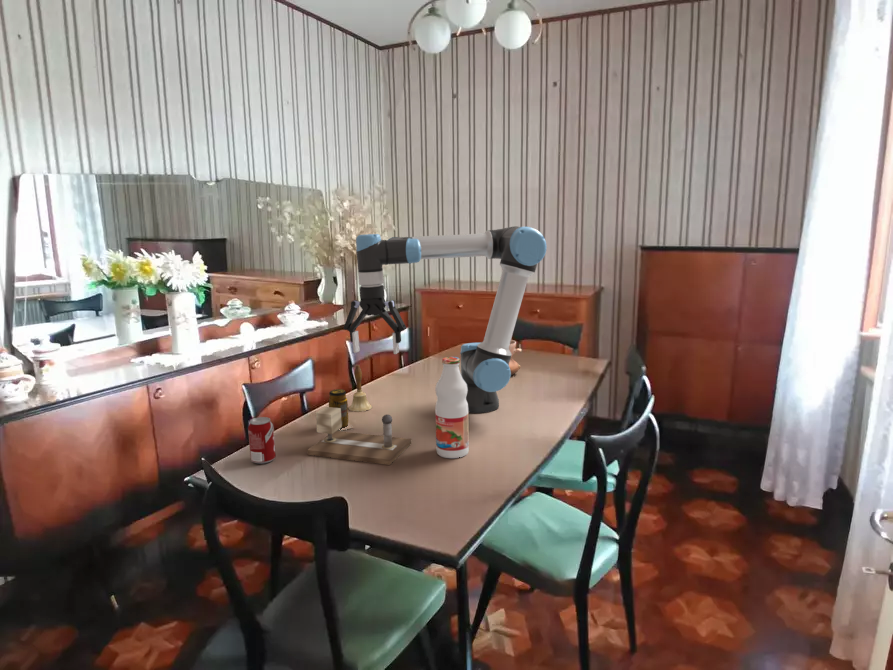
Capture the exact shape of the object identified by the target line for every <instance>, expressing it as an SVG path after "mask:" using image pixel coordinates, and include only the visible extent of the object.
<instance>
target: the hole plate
mask: <svg viewBox="0 0 893 670" xmlns="http://www.w3.org/2000/svg"><path fill="white" fill-rule="evenodd" d="M392 422H393V417H392V416H391V415H390V414H384V415H383V416H382V418H381V423H382V431H383V432H382V433H383V435H379V434H371V433H370V434H367V433H361V432H353V431H352V432H351V431H336V432H334V433H333V434H332V439H328V434H326V436H325V437H323V438H321V439H320V440H319V441H318V442H316V443H314V444H313V445H312V446H310V447H309V448H308V449H307V451H306V453H307V455H308V456H314V455H315V456H316V457H323V458H330V457H331V459H340V460H347V461H354V460H355V462H362V461H363V463H370V462H371V463H370V464H378V465H386V466H387V465H388V466H390V465H392V462H393V463H394V462H395V460H397V459H396V458H397V457H398V456H399V455H400V454H401V453H402V452H403V451H404V450H405V449H406V448H407V447H408V446H409V445H410V444H411V445H412V438H407V437H406V438H404V437H397V436H393V430H392V428H393V427H392ZM411 445H410V446H411ZM410 446H409V447H410ZM409 447H408V448H409ZM408 448H407V449H408ZM407 449H406V450H407ZM406 450H405V451H406ZM405 451H404V452H405ZM404 452H403V453H404ZM403 453H402V454H403ZM402 454H401V455H402ZM401 455H400V456H401ZM315 456H314V457H315ZM400 456H399V457H400ZM399 457H398V458H399Z"/></svg>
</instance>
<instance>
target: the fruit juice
mask: <svg viewBox="0 0 893 670" xmlns="http://www.w3.org/2000/svg"><path fill="white" fill-rule="evenodd" d="M441 360H442V361H441V363H442V366H443V367H442V372H441V375H440V378H439V379H438V380H437V383H436V385H435V390H434V391H435V395H436V399H437V400H436V403H435V410H434V411H435V412H434V413H435V447H436V453H437V455H439V456H440V457H441V458H445V459H459V457H460V458H462V457H465V456H467V455H468V454H469V450H470V448H469V447H470V444H469V443H470V441H469V439H470V438H469V436H470V435H469V427H470V425H469V412H468V403H467V401H466V396H467V391H468V388H467V384H466V382H465V381H464V380H463V378H462V376H461V369H460V367H459V366H460V365H461V358H459V357H457V356H446V357H443V358H442V359H441Z"/></svg>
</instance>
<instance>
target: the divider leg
mask: <svg viewBox="0 0 893 670" xmlns="http://www.w3.org/2000/svg"><path fill="white" fill-rule="evenodd" d="M315 421H316V425H315V426H316V433H318V434H319V433H320V434H326V435H328V439H332V434H333V433H334V432H336V431H337V430H339V429H340V428H341V427H342V421H341V408H333V407H329V406H325V407H324V408H322V409H320V410H319V411H317V412H316V413H315Z"/></svg>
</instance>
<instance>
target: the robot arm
mask: <svg viewBox="0 0 893 670" xmlns="http://www.w3.org/2000/svg"><path fill="white" fill-rule="evenodd" d="M355 248H356V250H355V251H356V261H357V262H356V263H357V273H358V274H357V275H358V285H359V299H360V301H358V300H357V299H355V300H352V301H350V309H349V311H348V312H349V313H348V315H347V317H346V320H345V322H344V326H343V330H344V331H347V332H349V337H350V338H349V339H350V342H351V343H352V347H353V348H352V349H353V353H354V354H356V353H358V352H360V338H359V330H357V328H358V327H359V326H360V324H361V323H362V322H363V321H364V319H365V317H366V316H374V317H375V316H379V317H381V318H382V319H383V320H384V321H385V322H386V324H387V325H388V326H389V327H390V328H391V330H392V331H393V332H392V334H391V335H392V346H393V349H392V350H393V354H394V355H397V354H398V353H400V343H401V342H402V332H403V331H406V330H407V326H406V324H405V322H404V320H403V319H402V316H401V315H400V312H399V311H398V309H397V306H396V302H395V300H389V301H388V300H387V301H386V299H385V286H384V285H383V284H384V271H383V269H384V268H383V266H384V265H385V266H386V265H388V266H389V265H403V264H405V265H407V264H409V265H411V264H414V263H415V264H416V263H419V262H420V261H421V260H431V259H432V260H433V259H434V260H435V259H449V258H450V259H452V258H453V259H456V258H471V257H472V258H473V257H474V258H475V257H485V258H487V260H488V259H489V260H492V259H495V260H496V259H497V260H500V262H499V266H500V268H501V269H502V273H501V275H500V279H499V283H498V287H497V290H496V295H495V297H494V300H493V301H494V302H493V306H492V308H491V312H490V315H489V319H488V324H487V326H486V327H487V328H486V331H485V333H484V334H485V335H484V337H483V341H481V342H468V343H463V344H462V345H461V347H460V353H459V354H460V373H461V376H462V378H463V380H464V381H465V382H466V384H467V388H468V391H467V396H466V401H467V403H468V413H474V414H475V413H478V414H480V413H483V414H484V413H489V412H493V411H495V410H497V409H499V406H500V399H499V397H498V394H497V392H500V391H501V390H502V389H504V388H505V387H506V386H507V385H508V384H509V382H510V380H511V376H512V375H511V371H510V367H509V362H510V359H511V355H512V354H511V352H510V350H509V345H510V341H511V340H512V337H513V334H514V330H515V327H516V323H517V320H518V316H519V313H520V308H521V305H522V301H523V298H524V295H525V291H526V287H527V284H528V281H529V277H531V276H533V275H534V274H535V273H536V270H537V266H538V264H539V263H540V262H541V261H542V260H543V259H544V258H545V256H546V254H547V248H548V247H547V241H546V238H545V237H544V235H543V233H541V231H539V230H537V229H536V228H534V227H531V226H508V227H504V228H497V229H491V230H490V229H487V230H486V231H485V232H484V233H468V234H467V233H464V234H463V233H462V234H445V235H444V234H442V235H423V236H405V237H402V236H400V237H398V236H393V237H390V238H388V239H382V237H381V235H380V234H379V233H367V234H358V235H357V236H356V237H355ZM386 307H387V309H389V312H390V314H391V316H392V317H393V318H392V317H391V316H390V314H389V313H388V310H386V309H385V308H386ZM358 308H361V309H362V310H361V311H360V313H359V314H358V316H357V317H356V319H355V316H356V313H357V312H358ZM354 319H355V320H354Z"/></svg>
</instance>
